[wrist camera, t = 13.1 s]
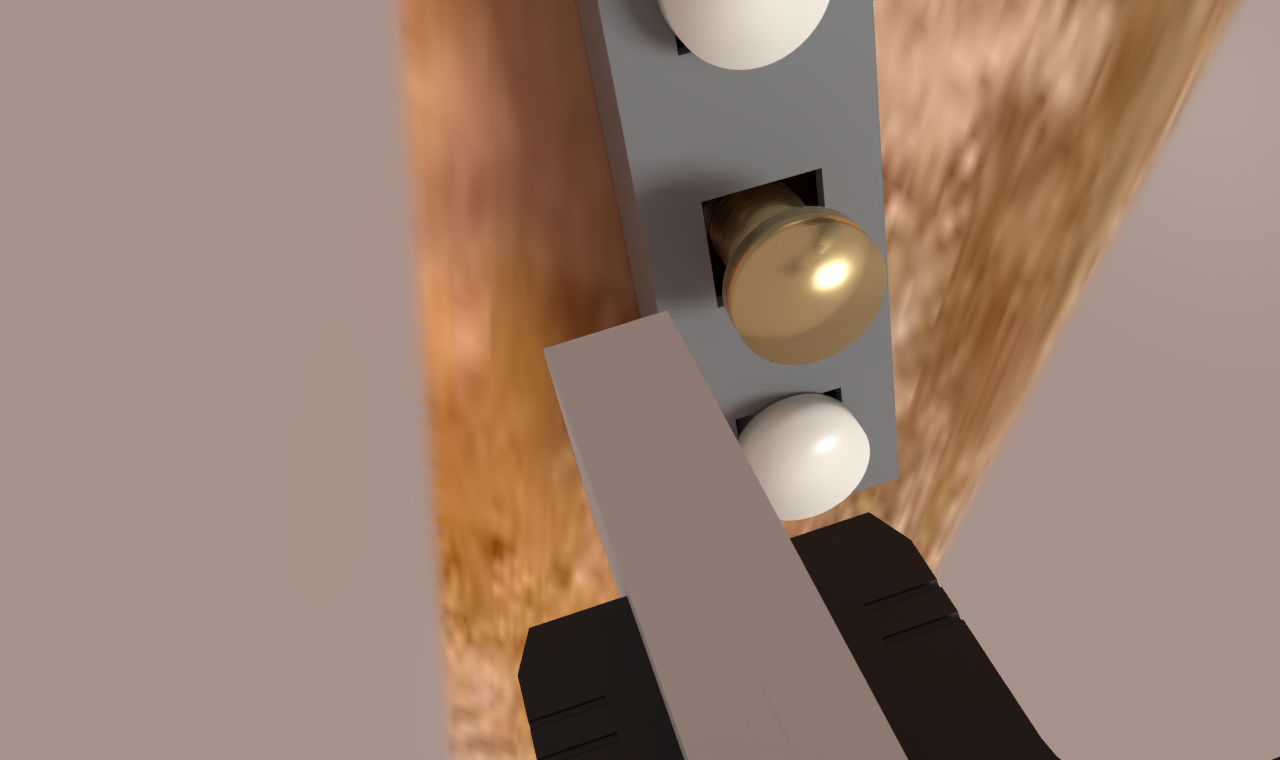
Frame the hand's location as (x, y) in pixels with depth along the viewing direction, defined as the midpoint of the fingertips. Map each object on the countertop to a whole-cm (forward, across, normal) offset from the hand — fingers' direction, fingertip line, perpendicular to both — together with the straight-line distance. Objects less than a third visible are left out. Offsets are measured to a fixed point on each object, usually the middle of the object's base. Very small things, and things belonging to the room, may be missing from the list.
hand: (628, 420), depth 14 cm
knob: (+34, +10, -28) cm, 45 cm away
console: (+34, +10, -16) cm, 39 cm away
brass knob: (+31, +10, -16) cm, 36 cm away
